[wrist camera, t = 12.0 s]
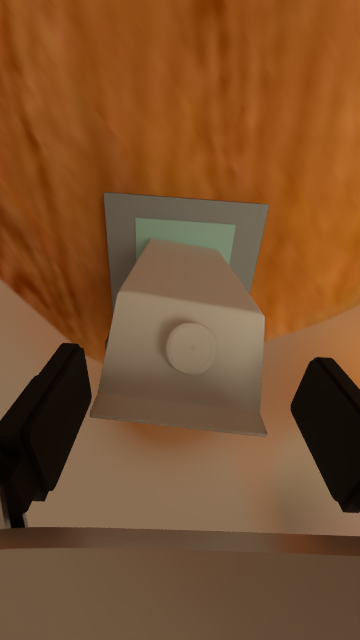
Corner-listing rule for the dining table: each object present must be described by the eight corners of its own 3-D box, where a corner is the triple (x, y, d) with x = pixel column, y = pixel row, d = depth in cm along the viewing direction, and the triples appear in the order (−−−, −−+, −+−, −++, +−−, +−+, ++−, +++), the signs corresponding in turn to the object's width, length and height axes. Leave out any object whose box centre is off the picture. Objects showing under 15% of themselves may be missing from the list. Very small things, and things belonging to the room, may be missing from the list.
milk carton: (203, 309, 28) (241, 483, 11) (143, 300, 27) (89, 468, 11) (218, 249, 25) (304, 368, 8) (151, 236, 24) (89, 337, 7)
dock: (111, 192, 25) (89, 192, 19) (259, 203, 26) (285, 206, 19) (119, 323, 33) (106, 354, 26) (234, 329, 33) (246, 361, 27)
